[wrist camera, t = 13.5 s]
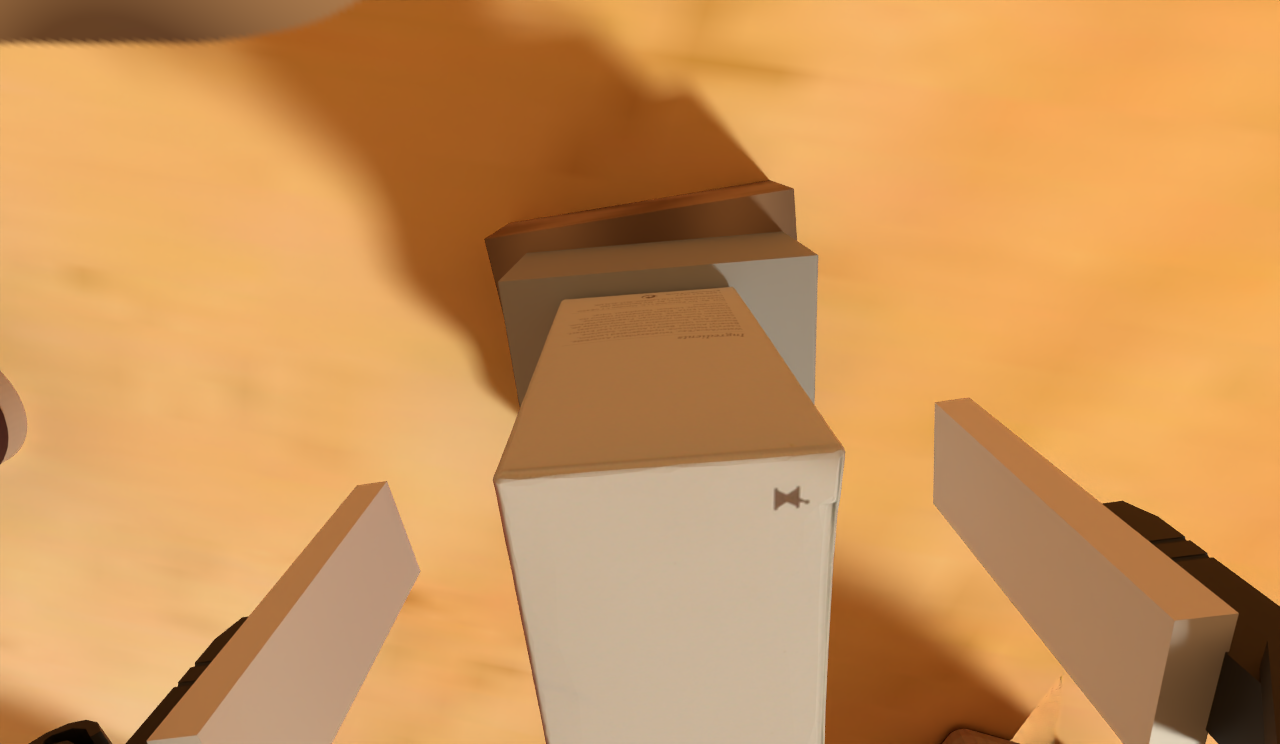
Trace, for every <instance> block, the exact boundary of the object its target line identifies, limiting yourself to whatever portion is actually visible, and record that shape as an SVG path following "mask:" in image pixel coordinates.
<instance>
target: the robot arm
mask: <svg viewBox="0 0 1280 744" xmlns="http://www.w3.org/2000/svg"><path fill="white" fill-rule="evenodd" d="M933 504H934V505H935V506H936V507H937V509H938V510H939V511H940V512H941V514H942V515H943V516H944V517H945V519H946V520H947V521H948V522H949V524H950V525H951V526H952V528H953V529H954V530H955V531H956V533H957V534H958V535H959V536H960V538H961V539H962V540H963V541H964V543H965V544H966V545H967V546H968V548H969V549H970V550H971V552H972V553H973V554H974V555H975V557H976V558H977V559H978V560H979V562H980V563H981V564H982V565H983V567H984V568H985V569H986V570H987V572H988V573H989V574H990V576H991V577H992V578H993V579H994V581H995V582H996V583H997V584H998V586H999V587H1000V588H1001V589H1002V591H1003V592H1004V593H1005V594H1006V596H1007V597H1008V598H1009V600H1010V601H1011V602H1012V603H1013V605H1014V606H1015V607H1016V608H1017V610H1018V611H1019V612H1020V613H1021V615H1022V616H1023V617H1024V618H1025V620H1026V621H1027V622H1028V624H1029V625H1030V626H1031V627H1032V629H1033V630H1034V631H1035V632H1036V634H1037V635H1038V636H1039V637H1040V639H1041V640H1042V641H1043V642H1044V644H1045V645H1046V646H1047V648H1048V649H1049V650H1050V651H1051V653H1052V654H1053V655H1054V656H1055V658H1056V659H1057V660H1058V661H1059V663H1060V664H1061V665H1062V666H1063V668H1064V669H1065V670H1066V672H1067V673H1068V674H1069V675H1070V677H1071V678H1072V679H1073V680H1074V682H1075V683H1076V684H1077V685H1078V687H1079V688H1080V689H1081V691H1082V692H1083V693H1084V694H1085V696H1086V697H1087V698H1088V699H1089V701H1090V702H1091V703H1092V704H1093V706H1094V707H1095V708H1096V709H1097V711H1098V712H1099V713H1100V715H1101V716H1102V717H1103V718H1104V720H1105V721H1106V722H1107V723H1108V725H1109V726H1110V727H1111V728H1112V730H1113V731H1114V732H1115V733H1116V735H1117V736H1118V737H1119V739H1120V740H1121V741H1122V742H1123V744H1205V742H1206V739H1207V735H1208V733H1209V734H1210V735H1211V736H1212V737H1213V738H1214V739H1215V741H1216V742H1217V743H1218V744H1280V606H1278V605H1277V604H1276V603H1274V602H1273V601H1272V600H1270V599H1269V598H1268V597H1266V596H1265V595H1263V594H1262V593H1261V592H1259V591H1258V590H1257V589H1255V588H1254V587H1253V586H1251V585H1250V584H1249V583H1247V582H1246V581H1244V580H1243V579H1242V578H1240V577H1239V576H1238V575H1236V574H1235V573H1234V572H1232V571H1231V570H1230V569H1228V568H1227V567H1225V566H1224V565H1223V564H1221V563H1220V562H1219V561H1217V560H1216V559H1215V558H1209V557H1208V555H1207V553H1206V552H1205V551H1204V550H1202V549H1201V548H1200V547H1198V546H1197V545H1196V544H1194V543H1193V542H1192V541H1190V540H1189V541H1186V540H1185V536H1183V535H1182V534H1181V533H1179V532H1178V531H1177V530H1175V529H1174V528H1173V527H1171V526H1170V525H1169V524H1167V523H1166V522H1164V521H1163V520H1162V519H1160V518H1159V517H1158V516H1155V515H1153V514H1151V513H1149V512H1146V511H1144V510H1142V509H1140V508H1137V507H1135V506H1133V505H1131V504H1128V503H1126V502H1124V501H1118V502H1111V503H1103V504H1102V503H1100V502H1099V501H1098V500H1097V499H1095V498H1094V497H1093V496H1092V495H1090V494H1089V493H1088V492H1087V491H1085V490H1084V489H1083V488H1082V487H1080V486H1079V485H1078V484H1077V483H1075V482H1074V481H1073V480H1072V479H1070V478H1069V477H1068V476H1067V475H1065V474H1064V473H1063V472H1062V471H1060V470H1059V469H1058V468H1057V467H1055V466H1054V465H1053V464H1052V463H1050V462H1049V461H1048V460H1047V459H1045V458H1044V457H1043V456H1042V455H1040V454H1039V453H1038V452H1037V451H1035V450H1034V449H1033V448H1032V447H1030V446H1029V445H1028V444H1027V443H1025V442H1024V441H1023V440H1022V439H1020V438H1019V437H1018V436H1017V435H1015V434H1014V433H1013V432H1012V431H1010V430H1009V429H1008V428H1007V427H1005V426H1004V425H1003V424H1002V423H1000V422H999V421H998V420H997V419H995V418H994V417H993V416H992V415H990V414H989V413H988V412H987V411H985V410H984V409H983V408H982V407H980V406H979V405H978V404H977V403H975V402H974V401H973V400H972V399H970V398H963V399H956V400H949V401H942V402H935V432H934V490H933ZM419 573H420V569H419V566H418V563H417V561H416V558H415V555H414V553H413V550H412V547H411V545H410V542H409V539H408V537H407V534H406V531H405V528H404V526H403V523H402V520H401V518H400V515H399V512H398V510H397V507H396V504H395V502H394V499H393V496H392V493H391V491H390V488H389V485H388V483H387V481H385V482H378V483H371V484H364V485H357V486H356V487H355V488H354V490H353V491H352V492H351V493H350V495H349V496H348V497H347V498H346V499H345V501H344V502H343V503H342V504H341V505H340V507H339V508H338V509H337V510H336V512H335V513H334V514H333V515H332V516H331V518H330V519H329V520H328V521H327V522H326V524H325V525H324V526H323V527H322V529H321V530H320V531H319V532H318V533H317V535H316V536H315V537H314V538H313V539H312V541H311V542H310V543H309V544H308V546H307V547H306V548H305V549H304V550H303V552H302V553H301V554H300V555H299V556H298V558H297V559H296V560H295V561H294V562H293V564H292V565H291V566H290V567H289V569H288V570H287V571H286V572H285V573H284V575H283V576H282V577H281V578H280V579H279V581H278V582H277V583H276V584H275V586H274V587H273V588H272V589H271V590H270V592H269V593H268V594H267V595H266V596H265V598H264V599H263V600H262V601H261V603H260V604H259V605H258V606H257V607H256V609H255V610H254V611H253V612H252V613H251V615H250V616H249V617H242V618H241V619H240V620H238V621H237V622H236V623H235V624H233V625H232V626H231V627H230V628H228V629H227V630H226V631H225V632H223V633H222V634H221V635H220V636H218V637H217V638H216V639H215V640H214V641H213V642H212V643H211V644H210V646H209V647H208V648H207V649H206V650H205V652H204V653H203V654H202V655H201V656H200V657H199V659H198V660H197V661H196V662H195V667H191V668H190V669H189V670H188V671H187V673H186V674H185V675H184V676H183V677H182V678H181V680H180V681H179V682H178V687H174V688H173V689H172V690H171V691H170V692H169V694H168V695H167V696H166V697H165V698H164V699H163V701H162V702H161V703H160V704H159V705H158V707H157V708H156V709H155V710H154V711H153V712H152V714H151V715H150V716H149V717H148V718H147V719H146V721H145V722H144V723H143V724H142V725H141V726H140V728H139V729H138V730H137V731H136V732H135V733H134V735H133V736H132V737H131V738H130V739H129V740H128V742H127V743H126V744H332V742H333V740H334V738H335V736H336V734H337V732H338V730H339V728H340V726H341V725H342V723H343V721H344V719H345V717H346V715H347V713H348V711H349V709H350V707H351V705H352V703H353V701H354V699H355V697H356V695H357V693H358V692H359V690H360V688H361V686H362V684H363V682H364V680H365V678H366V676H367V674H368V672H369V670H370V668H371V666H372V664H373V662H374V660H375V659H376V657H377V655H378V653H379V651H380V649H381V647H382V645H383V643H384V641H385V639H386V637H387V635H388V633H389V631H390V629H391V627H392V626H393V624H394V622H395V620H396V618H397V616H398V614H399V612H400V610H401V608H402V606H403V604H404V602H405V600H406V598H407V596H408V594H409V593H410V591H411V589H412V587H413V585H414V583H415V581H416V579H417V577H418V575H419ZM29 744H112V743H111V741H110V740H109V738H108V737H107V736H106V734H105V733H104V731H103V730H102V728H101V727H100V726H99V724H98V723H97V722H93V721H89V720H83V721H78V722H73V723H69V724H66V725H64V726H61V727H59V728H57V729H55V730H52V731H50V732H48V733H46V734H44V735H42V736H41V737H39V738H37V739H36V740H34V741H32V742H31V743H29Z"/></svg>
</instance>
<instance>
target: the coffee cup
mask: <svg viewBox="0 0 1280 744" xmlns="http://www.w3.org/2000/svg"><path fill="white" fill-rule="evenodd" d="M26 433H27V418H26V413H25V409H24V406H23V404H22V401H21V399H20V397H19V395H18V394H17V392H16V390H15V389H14V387H13V386H12V384H11V383H10V382H9V380H8V379H7V378H6V377H5V376H4V374H3V373H2V372H1V371H0V464H1V463H3V462H4V461H6V460H8V459H10V458H11V457H13V456H14V455H15V454H16V453H17V452H18V451H19V450H20V448H21V447H22V445H23V443H24V441H25V438H26Z"/></svg>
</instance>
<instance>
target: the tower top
mask: <svg viewBox="0 0 1280 744" xmlns="http://www.w3.org/2000/svg"><path fill="white" fill-rule="evenodd" d="M817 278H818V255H817V254H816V253H814V252H813V251H811V250H810V249H808V248H807V247H805V246H804V245H802V244H801V243H799V242H798V241H796V240H795V239H793V238H792V237H790V236H789V235H787V234H786V233H784V232H783V231H781V232H769V233H757V234H745V235H733V236H721V237H710V238H698V239H686V240H674V241H662V242H650V243H638V244H627V245H615V246H603V247H591V248H579V249H567V250H556V251H544V252H532V253H526V254H525V255H524V256H523V257H522V258H521V259H520V260H519V261H518V262H517V263H516V264H515V265H514V266H513V267H512V268H511V269H510V270H509V271H508V272H507V273H506V274H505V275H504V276H503V277H502V278H501V279H500V280H499V281H498V285H499V291H500V297H501V302H502V308H503V314H504V320H505V325H506V331H507V337H508V342H509V348H510V354H511V360H512V365H513V371H514V377H515V382H516V388H517V394H518V400H519V405H520V407H521V404H522V402H523V400H524V397H525V395H526V392H527V390H528V387H529V384H530V381H531V379H532V376H533V374H534V371H535V368H536V366H537V363H538V360H539V358H540V355H541V353H542V350H543V347H544V345H545V342H546V339H547V336H548V334H549V331H550V329H551V326H552V324H553V321H554V318H555V316H556V313H557V311H558V308H559V306H560V303H561V302H562V301H563V300H566V299H580V298H593V297H606V296H618V295H630V294H644V293H658V292H671V291H684V290H698V289H712V288H724V287H734V288H735V290H736V291H737V292H738V294H739V295H740V297H741V298H742V300H743V301H744V303H745V304H746V305H747V307H748V308H749V309H750V311H751V313H752V314H753V315H754V317H755V318H756V320H757V321H758V323H759V324H760V326H761V327H762V329H763V330H764V331H765V333H766V335H767V336H768V337H769V339H770V340H771V342H772V343H773V345H774V346H775V348H776V349H777V351H778V352H779V354H780V355H781V357H782V358H783V360H784V361H785V363H786V364H787V366H788V367H789V368H790V370H791V372H792V373H793V374H794V376H795V377H796V379H797V381H798V382H799V384H800V385H801V387H802V388H803V390H804V391H805V392H806V394H807V395H808V396H809V398H810V399H811V401H812V402H813V404H814V398H815V358H816V318H817Z"/></svg>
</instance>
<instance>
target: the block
mask: <svg viewBox="0 0 1280 744" xmlns="http://www.w3.org/2000/svg"><path fill="white" fill-rule="evenodd" d="M942 744H1019V743H1015V742H1012V741H1008V740H1005V739H1001V738H998V737H994V736H990V735H987V734H983V733H980V732H976V731H973V730H969V729H958V730H956V731H954V732H952V733H950V734H949V736H948V737H947V738H946V740H945V741H944V742H943V743H942Z"/></svg>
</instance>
